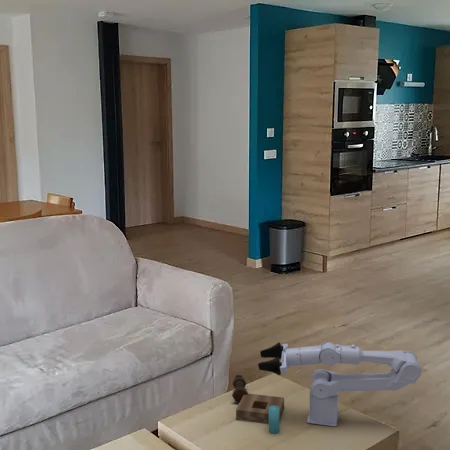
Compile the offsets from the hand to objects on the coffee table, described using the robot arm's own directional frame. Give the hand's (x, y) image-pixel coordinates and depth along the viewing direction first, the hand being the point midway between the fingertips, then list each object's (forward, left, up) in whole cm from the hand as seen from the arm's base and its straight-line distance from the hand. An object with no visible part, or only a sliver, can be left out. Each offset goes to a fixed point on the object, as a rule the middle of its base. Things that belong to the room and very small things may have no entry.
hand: (259, 360), depth 196 cm
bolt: (+10, -13, -19) cm, 25 cm away
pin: (-6, +9, -20) cm, 23 cm away
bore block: (0, -1, -20) cm, 20 cm away
